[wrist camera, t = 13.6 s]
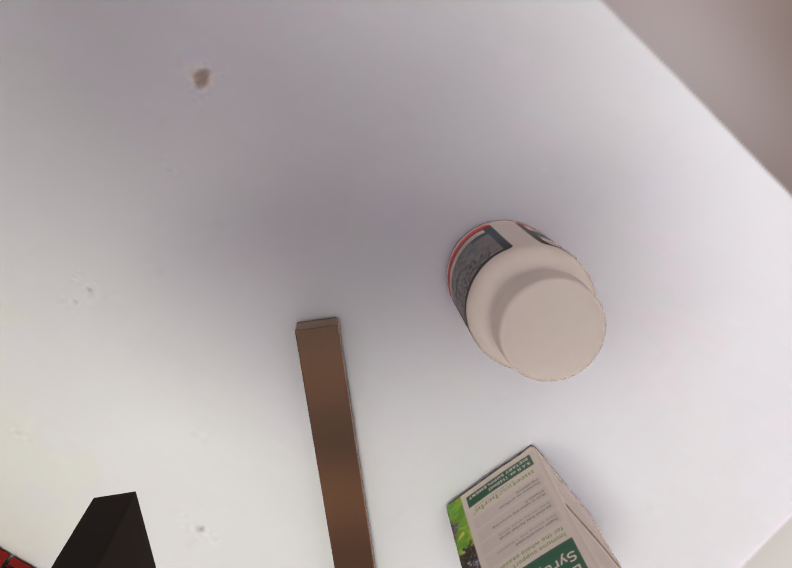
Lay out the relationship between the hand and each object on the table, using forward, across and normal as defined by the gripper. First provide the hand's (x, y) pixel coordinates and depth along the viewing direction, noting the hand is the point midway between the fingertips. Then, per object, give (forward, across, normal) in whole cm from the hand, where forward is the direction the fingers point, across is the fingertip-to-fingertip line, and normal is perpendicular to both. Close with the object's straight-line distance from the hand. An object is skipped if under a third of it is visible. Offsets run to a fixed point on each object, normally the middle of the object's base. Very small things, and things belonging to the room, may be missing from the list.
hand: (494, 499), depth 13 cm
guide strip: (+21, -5, -15) cm, 26 cm away
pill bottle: (+21, +4, -2) cm, 22 cm away
